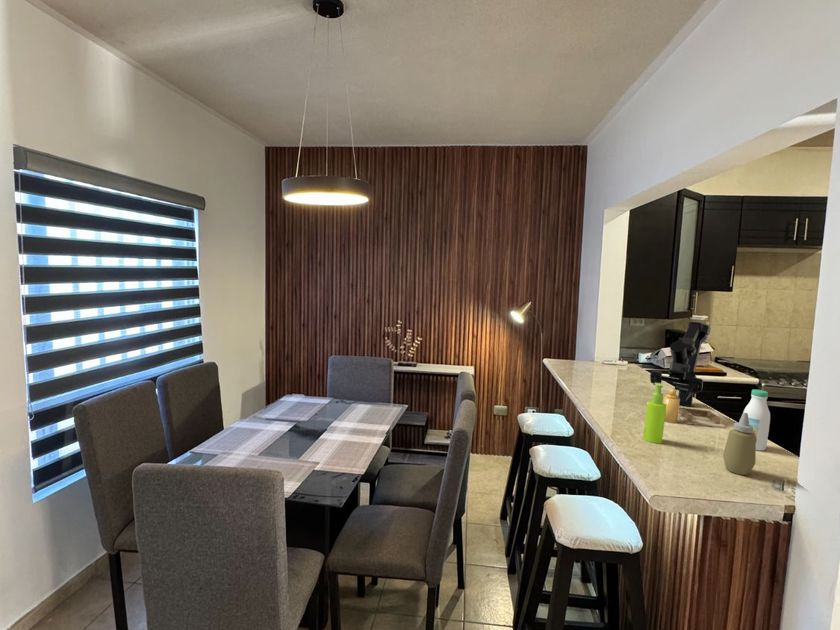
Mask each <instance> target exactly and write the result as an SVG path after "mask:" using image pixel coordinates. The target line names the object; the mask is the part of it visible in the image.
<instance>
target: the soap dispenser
mask: <svg viewBox="0 0 840 630" xmlns="http://www.w3.org/2000/svg"><path fill="white" fill-rule="evenodd" d="M654 384H655V385H654ZM653 385H654V386H655V391H653V392H652V394H651V395H652V396H651V400H650V401H646V412H645V420H644V428H643V437H642V439H643V440H644V441H646V442H648V443H650V444H651V443H652V444H662V443H663V435H664V428H665V427H664V426H665V413H666V405H665V404H663V401H664V394H663V392H662V388H663V387H664V386H663V383H662V382H661V383H653Z"/></svg>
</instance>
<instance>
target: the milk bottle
mask: <svg viewBox="0 0 840 630" xmlns="http://www.w3.org/2000/svg"><path fill="white" fill-rule="evenodd" d="M750 396H751V399H750V401H749V402H748V404H747V405H746V406H745V408H744V409H743V412H742V414H743V413H748V419H749V425H751V426H753V432H752V433H753V434H754V435H755V436H756V451H761V452H762V451H765V450H766V449H767V444H768V437H769V432H770V424H771V411H770V410H769V406H768V403H767V402H768V401H767V400H768V397H769V392H768V391H766V390H762V389H757V388H756V389H752V390H751V395H750Z"/></svg>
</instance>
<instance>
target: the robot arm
mask: <svg viewBox="0 0 840 630" xmlns="http://www.w3.org/2000/svg"><path fill="white" fill-rule="evenodd" d="M687 323H688V324H687V328H686V332H685V334H684V335H683V337H682V338H680V339H677V340H675V341H673V342H672V343H670V345H669V351H670V355H671V358H672V361H671V362H670V365H669V368H668V374H667V375H663V372H662V371H658V370H652V371H651V372H650V375H649V376H650V378H649V379H650V383H651V384H653V385H654V386H656V385H655V384H654V383H661V384H662V381H665V382H667V383H668V382H670V383H673V384H674V389H676V391H678V395H677V396H678V398H680V403H679V406H681V405H682V406H683V407H684V406H685V407H694V408H695V407H696V405H695V404H694V403H693V398H694V395H697V394H699V392H702V391H703V384H704V380H703V379H702V378H699V377H697V374H696V373H695V372H696V368H697V363H698V360H699V355H700V351H701V347H702V343H704V342H705V341H707V339H708V336H710V333H711V327H710V326H709V325H708V324H704V323H703V322H700V321H693V320H692V321H689V322H687Z"/></svg>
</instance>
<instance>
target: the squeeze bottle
mask: <svg viewBox="0 0 840 630" xmlns="http://www.w3.org/2000/svg"><path fill="white" fill-rule="evenodd" d="M752 432H753V426H751V425H749V419H748V413H743V412H742V414H741V417H740V418H739V422H734V424H733V428H732V429H730V430H729V432H728V435H727V439H726V443H725V446H724V450H723V453H722V457H723V461H724V462H723V463H724V466H725V469H726V470H727V471H728V472H730V473H734V474H735V475H736V474H737V475H741V476H742V475H743V476H746V475H749V474H750V473H751V472H752V471H753V469H754V467H755V465H756V452H757V450H756V436H755V435H754V434H753V433H752Z"/></svg>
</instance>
